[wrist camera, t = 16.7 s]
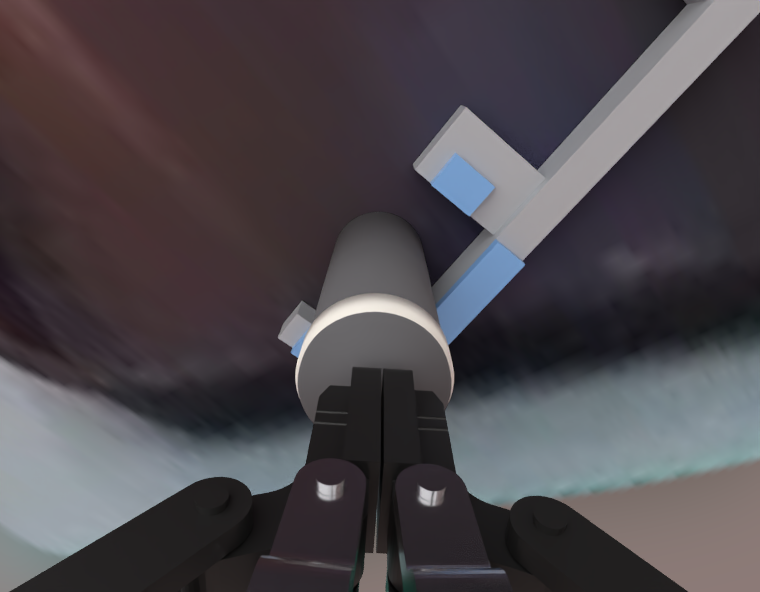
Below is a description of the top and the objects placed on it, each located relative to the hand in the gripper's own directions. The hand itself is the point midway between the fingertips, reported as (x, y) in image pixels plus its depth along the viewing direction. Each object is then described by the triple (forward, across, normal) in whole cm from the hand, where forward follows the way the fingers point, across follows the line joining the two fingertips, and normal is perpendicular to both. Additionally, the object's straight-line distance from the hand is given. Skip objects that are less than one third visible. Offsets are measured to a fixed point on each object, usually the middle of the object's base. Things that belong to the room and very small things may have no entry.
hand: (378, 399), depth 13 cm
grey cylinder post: (+12, 0, 0) cm, 12 cm away
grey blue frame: (+11, -4, -4) cm, 13 cm away
